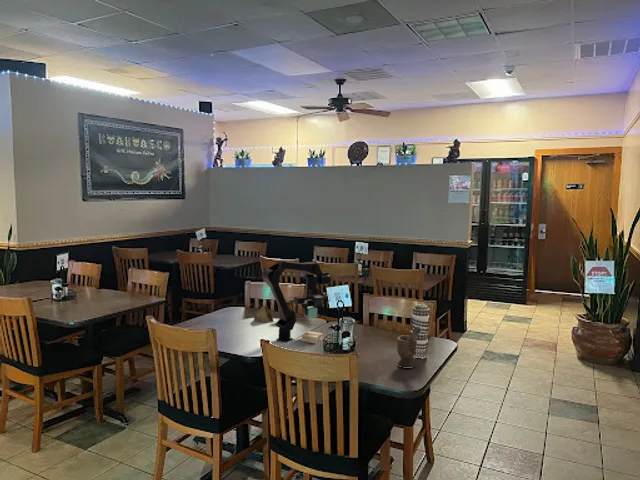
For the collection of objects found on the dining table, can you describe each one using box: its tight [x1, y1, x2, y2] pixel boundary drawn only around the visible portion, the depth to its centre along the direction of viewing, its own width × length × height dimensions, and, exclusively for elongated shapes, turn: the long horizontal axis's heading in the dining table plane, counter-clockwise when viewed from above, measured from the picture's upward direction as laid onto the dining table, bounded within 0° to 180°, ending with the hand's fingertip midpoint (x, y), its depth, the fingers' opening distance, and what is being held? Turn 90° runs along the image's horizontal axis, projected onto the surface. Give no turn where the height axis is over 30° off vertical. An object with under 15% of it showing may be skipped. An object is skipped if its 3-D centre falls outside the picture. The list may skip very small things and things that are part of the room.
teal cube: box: [303, 305, 318, 319], centre depth 255 cm, size 5×5×5 cm
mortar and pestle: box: [396, 327, 421, 367], centre depth 214 cm, size 12×9×20 cm
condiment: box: [285, 300, 293, 310], centre depth 282 cm, size 7×8×12 cm
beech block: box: [301, 330, 324, 344], centre depth 249 cm, size 8×8×4 cm
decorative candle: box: [410, 303, 431, 357], centre depth 229 cm, size 9×9×25 cm
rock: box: [253, 305, 274, 323], centre depth 282 cm, size 11×9×10 cm
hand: (310, 314), depth 255 cm, fingers closed on teal cube, 5 cm apart
